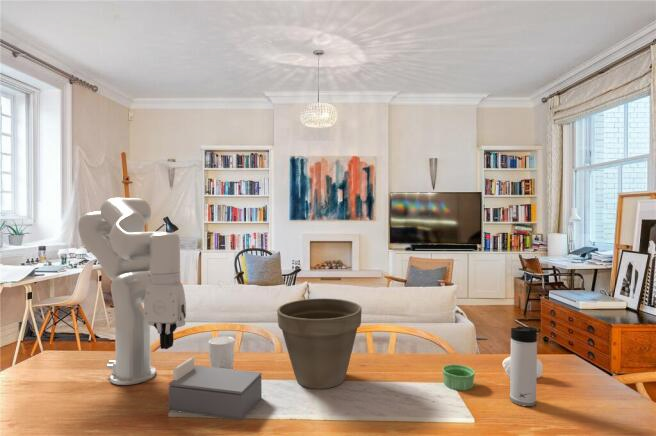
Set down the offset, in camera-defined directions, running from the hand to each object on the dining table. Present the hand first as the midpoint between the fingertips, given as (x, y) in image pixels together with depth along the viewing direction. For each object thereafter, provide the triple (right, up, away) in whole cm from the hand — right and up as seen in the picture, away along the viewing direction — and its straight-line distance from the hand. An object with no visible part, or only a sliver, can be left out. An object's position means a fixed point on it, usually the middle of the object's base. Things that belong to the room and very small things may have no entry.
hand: (166, 347), depth 111 cm
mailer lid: (+14, -8, -3) cm, 16 cm away
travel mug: (+95, -14, -2) cm, 96 cm away
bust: (+102, -14, +15) cm, 104 cm away
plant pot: (+41, -14, +13) cm, 45 cm away
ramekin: (+81, -14, +9) cm, 83 cm away
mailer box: (+14, -14, -3) cm, 20 cm away
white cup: (+10, -14, +18) cm, 25 cm away
